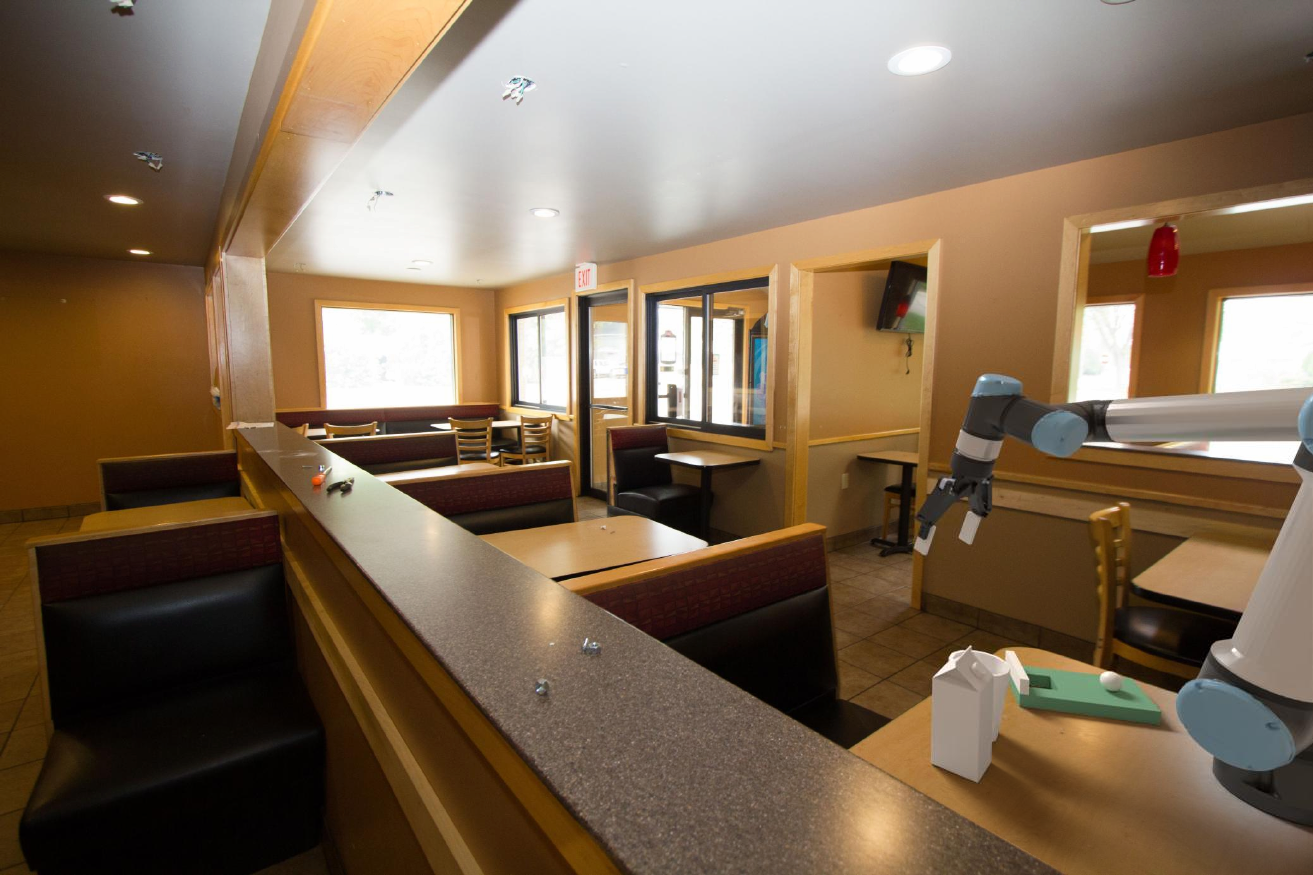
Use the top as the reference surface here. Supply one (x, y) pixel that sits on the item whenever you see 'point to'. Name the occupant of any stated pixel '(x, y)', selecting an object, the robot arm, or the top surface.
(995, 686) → the foam cup
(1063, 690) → the putting board
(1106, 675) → the golf ball
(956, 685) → the milk carton
